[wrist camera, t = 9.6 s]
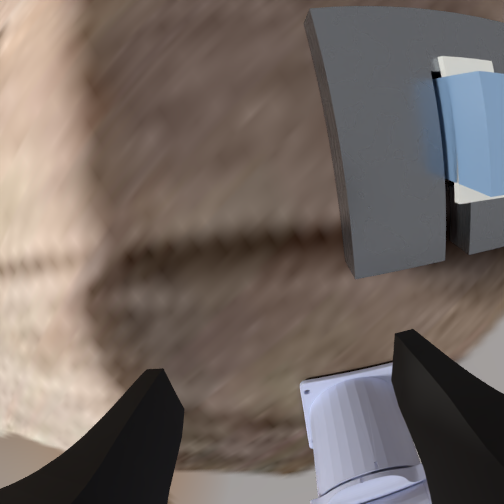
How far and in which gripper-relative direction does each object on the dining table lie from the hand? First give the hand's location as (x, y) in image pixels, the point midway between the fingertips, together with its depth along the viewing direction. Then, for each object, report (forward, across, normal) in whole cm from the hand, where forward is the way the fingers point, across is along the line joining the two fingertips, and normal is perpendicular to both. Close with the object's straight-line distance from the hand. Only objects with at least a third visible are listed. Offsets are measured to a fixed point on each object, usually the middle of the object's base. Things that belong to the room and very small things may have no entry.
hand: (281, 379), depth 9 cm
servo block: (+10, -12, -6) cm, 17 cm away
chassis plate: (+10, -12, -6) cm, 17 cm away
